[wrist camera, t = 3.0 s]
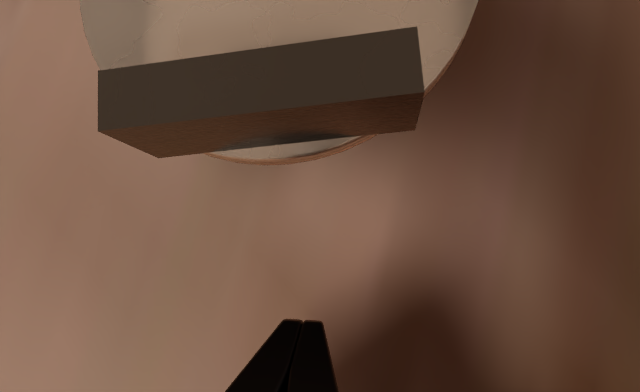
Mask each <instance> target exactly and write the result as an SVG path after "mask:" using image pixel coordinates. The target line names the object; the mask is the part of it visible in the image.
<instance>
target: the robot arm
mask: <svg viewBox="0 0 640 392" xmlns="http://www.w3.org/2000/svg"><path fill="white" fill-rule="evenodd" d="M225 392H338V387H337V383H336V378H335V374H334V369H333V365H332V361H331V356H330V352H329V347H328V343H327V338H326V334H325V330H324V325H323V323H322V321H316V320H305V321H304V322H303V321H302V320H298V319H284V320H283V321H282V322H281V323H280V324H279V325H278V327H277V328H276V329H275V330H274V332H273V333H272V334H271V335H270V337H269V338H268V339H267V340H266V341H265V343H264V344H263V345H262V346H261V348H260V349H259V350H258V351H257V353H256V354H255V355H254V356H253V358H252V359H251V360H250V361H249V363H248V364H247V365H246V366H245V368H244V369H243V370H242V371H241V372H240V374H239V375H238V376H237V377H236V379H235V380H234V381H233V382H232V384H231V385H230V386H229V387H228V389H227V390H226V391H225Z"/></svg>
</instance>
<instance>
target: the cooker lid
mask: <svg viewBox="0 0 640 392" xmlns="http://www.w3.org/2000/svg"><path fill="white" fill-rule="evenodd" d="M478 1H479V0H80V10H81V15H82V20H83V26H84V31H85V35H86V37H87V40H88V43H89V46H90V49H91V52H92V55H93V57H94V59H95V61H96V63H97V65H98V67H99V69H100V70H99V71H98V131H99V132H101V133H103V134H105V135H108V136H110V137H112V138H114V139H117V140H119V141H121V142H123V143H126V144H128V145H130V146H132V147H135V148H137V149H139V150H141V151H144V152H146V153H148V154H150V155H153V156H155V157H157V158H163V157H172V156H182V155H191V154H200V153H203V154H206V155H209V156H211V157H215V158H219V159H223V160H227V161H232V162H236V163H245V164H255V165H281V164H294V163H299V162H305V161H311V160H317V159H320V158H323V157H327V156H330V155H333V154H336V153H340V152H343V151H345V150H347V149H349V148H352V147H354V146H356V145H358V144H361V143H363V142H365V141H367V140H369V139H371V138H372V137H374V136H376V135H377V134H383V133H392V132H401V131H410V130H415V128H416V124H417V120H418V116H419V112H420V108H421V104H422V101H423V98H424V97H425V96H426V95H427V94H428V93H429V92H430V91H431V90H432V89H433V88H434V86H435V85H436V83H437V82H438V81H439V79H440V78H441V77H442V75H443V74H444V73H445V71H446V70H447V69H448V67H449V66H450V64H451V62H452V61H453V59H454V57H455V55H456V53H457V52H458V50H459V48H460V46H461V44H462V42H463V40H464V37H465V35H466V32H467V30H468V27H469V25H470V22H471V19H472V17H473V14H474V11H475V9H476V6H477V3H478Z"/></svg>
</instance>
